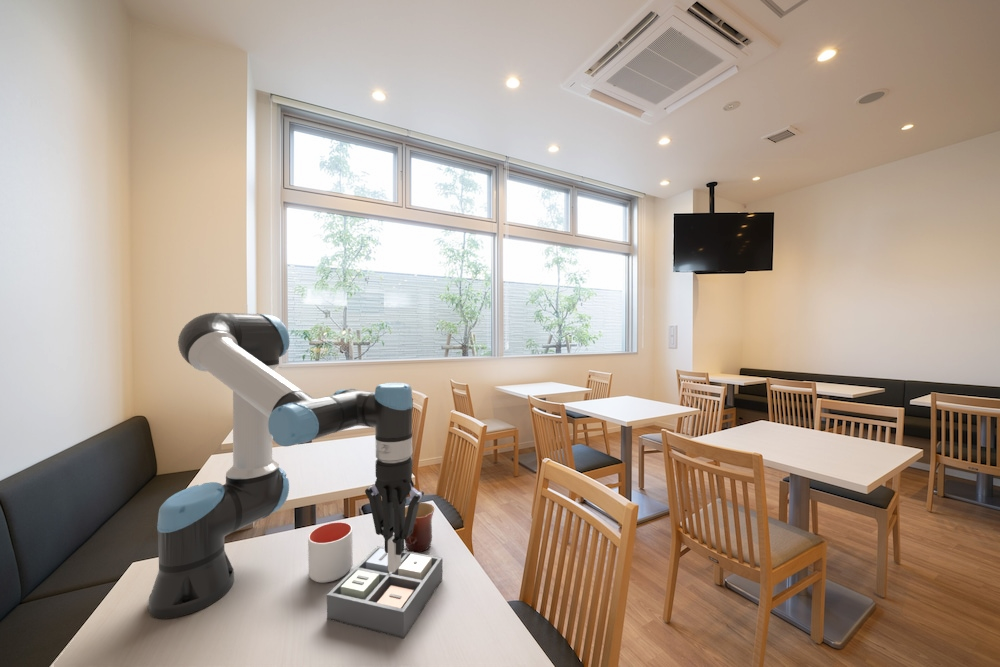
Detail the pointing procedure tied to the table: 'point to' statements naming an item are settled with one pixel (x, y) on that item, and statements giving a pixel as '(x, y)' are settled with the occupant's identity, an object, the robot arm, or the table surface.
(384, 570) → the slate key
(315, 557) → the cup
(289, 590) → the table surface
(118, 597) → the table surface
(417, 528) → the mug
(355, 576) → the sage key
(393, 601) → the terracotta key
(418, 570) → the cream key
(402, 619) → the grey compartment tray
